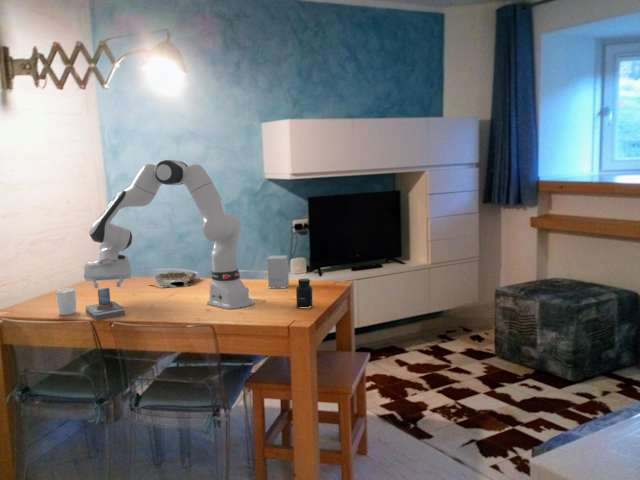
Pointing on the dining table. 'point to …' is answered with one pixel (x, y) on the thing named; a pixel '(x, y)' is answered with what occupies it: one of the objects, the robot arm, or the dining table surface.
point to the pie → (174, 278)
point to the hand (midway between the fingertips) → (107, 287)
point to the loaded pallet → (104, 299)
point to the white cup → (66, 301)
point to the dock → (105, 311)
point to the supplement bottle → (304, 293)
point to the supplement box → (277, 271)
